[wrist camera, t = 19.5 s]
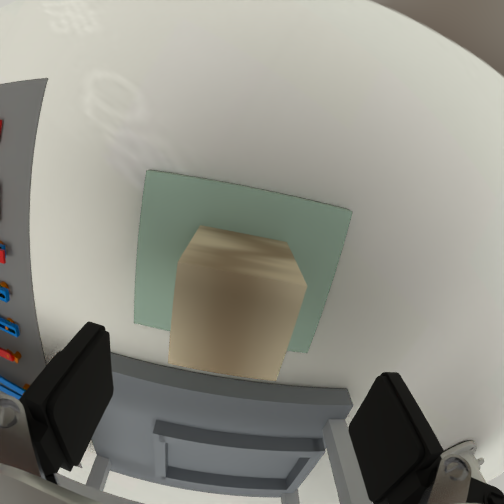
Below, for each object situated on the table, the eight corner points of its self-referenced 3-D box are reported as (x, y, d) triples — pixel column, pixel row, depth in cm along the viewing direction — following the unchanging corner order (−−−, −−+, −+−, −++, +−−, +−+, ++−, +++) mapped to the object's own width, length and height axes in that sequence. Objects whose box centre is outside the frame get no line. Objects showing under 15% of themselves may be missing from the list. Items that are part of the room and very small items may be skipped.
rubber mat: (348, 209, 17) (352, 211, 17) (305, 346, 20) (307, 353, 20) (150, 169, 16) (146, 170, 16) (137, 317, 19) (134, 322, 19)
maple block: (286, 242, 17) (307, 285, 11) (267, 316, 19) (275, 381, 13) (200, 225, 17) (177, 261, 11) (188, 302, 18) (167, 363, 12)
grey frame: (346, 388, 22) (391, 509, 11) (287, 484, 27) (296, 565, 16) (81, 343, 20) (9, 453, 9) (106, 455, 26) (80, 533, 14)
